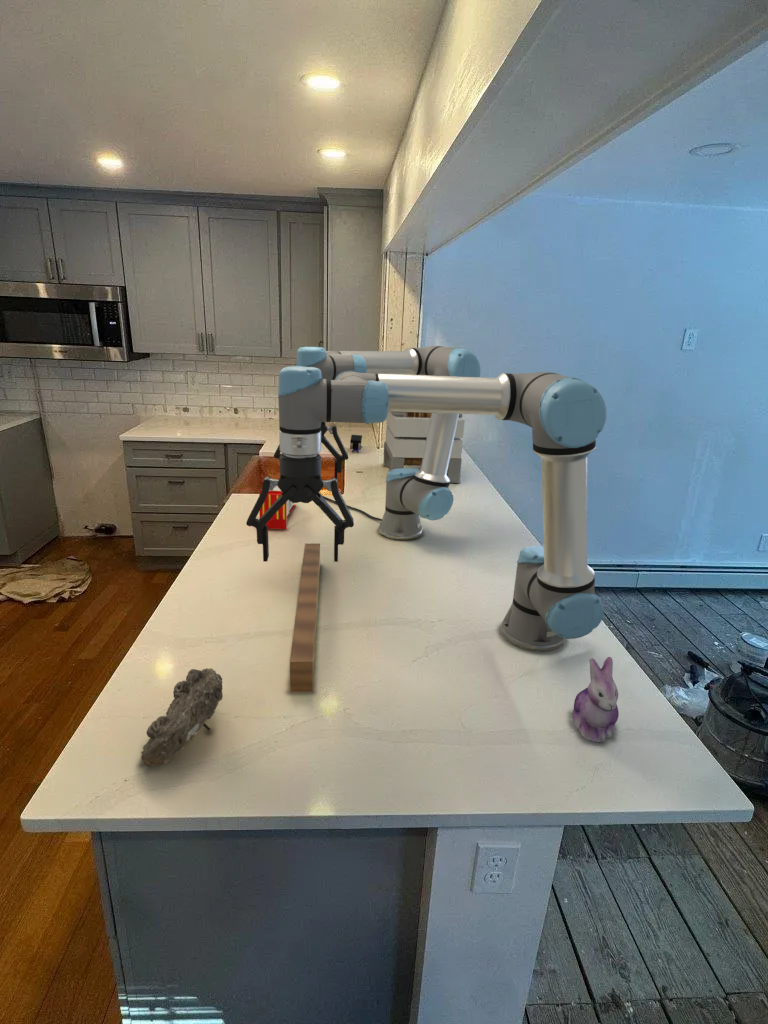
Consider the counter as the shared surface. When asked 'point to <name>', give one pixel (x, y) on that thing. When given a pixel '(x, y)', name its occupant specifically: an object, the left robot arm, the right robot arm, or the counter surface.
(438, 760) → the counter surface
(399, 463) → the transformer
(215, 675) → the fossil
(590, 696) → the figurine
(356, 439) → the figurine character
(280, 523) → the toy
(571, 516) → the right robot arm
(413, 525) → the left robot arm
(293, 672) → the post
